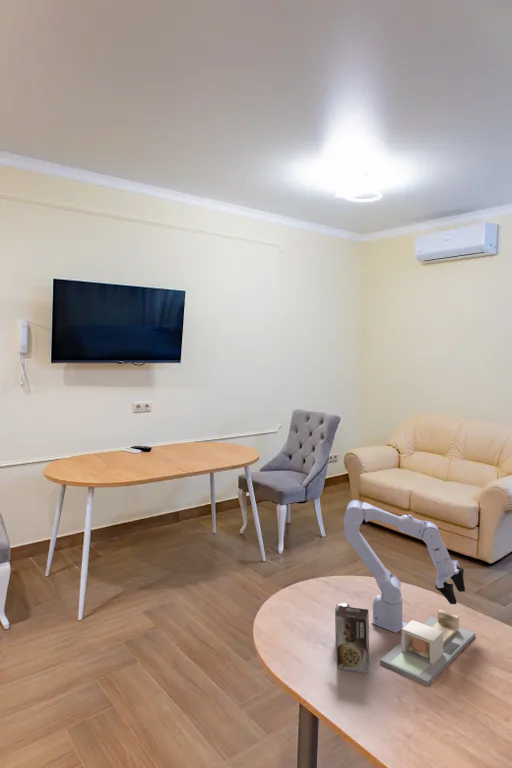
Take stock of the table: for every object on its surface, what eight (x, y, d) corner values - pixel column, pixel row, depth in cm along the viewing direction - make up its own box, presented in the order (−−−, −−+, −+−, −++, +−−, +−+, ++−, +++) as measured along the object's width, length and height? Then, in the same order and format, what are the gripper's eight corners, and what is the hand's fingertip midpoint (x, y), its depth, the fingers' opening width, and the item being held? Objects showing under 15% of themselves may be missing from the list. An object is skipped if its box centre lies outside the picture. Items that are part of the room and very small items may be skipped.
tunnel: (401, 650, 152) (401, 628, 152) (412, 641, 157) (412, 619, 157) (433, 664, 145) (432, 640, 145) (443, 654, 150) (443, 631, 150)
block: (413, 648, 151) (413, 635, 151) (419, 642, 154) (419, 630, 154) (425, 653, 148) (425, 640, 148) (431, 647, 151) (431, 634, 151)
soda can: (351, 647, 156) (350, 610, 156) (335, 646, 157) (334, 609, 157) (351, 638, 161) (351, 602, 161) (335, 637, 162) (335, 601, 162)
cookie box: (370, 661, 149) (369, 609, 148) (367, 674, 143) (367, 619, 142) (339, 656, 152) (339, 604, 151) (336, 668, 146) (335, 615, 145)
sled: (408, 650, 151) (408, 635, 151) (439, 622, 167) (439, 609, 167) (428, 658, 147) (428, 643, 147) (458, 629, 163) (458, 616, 162)
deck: (380, 663, 148) (380, 659, 148) (431, 620, 172) (431, 616, 172) (428, 685, 137) (428, 681, 137) (475, 636, 161) (475, 632, 161)
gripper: (443, 568, 156) (461, 609, 155) (460, 547, 167) (477, 585, 166) (423, 569, 161) (440, 609, 160) (441, 549, 172) (457, 586, 171)
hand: (457, 597), depth 163 cm, fingers open, 7 cm apart
